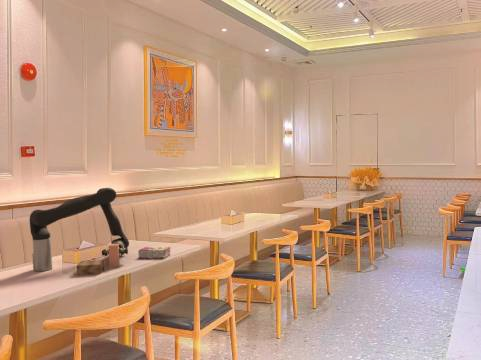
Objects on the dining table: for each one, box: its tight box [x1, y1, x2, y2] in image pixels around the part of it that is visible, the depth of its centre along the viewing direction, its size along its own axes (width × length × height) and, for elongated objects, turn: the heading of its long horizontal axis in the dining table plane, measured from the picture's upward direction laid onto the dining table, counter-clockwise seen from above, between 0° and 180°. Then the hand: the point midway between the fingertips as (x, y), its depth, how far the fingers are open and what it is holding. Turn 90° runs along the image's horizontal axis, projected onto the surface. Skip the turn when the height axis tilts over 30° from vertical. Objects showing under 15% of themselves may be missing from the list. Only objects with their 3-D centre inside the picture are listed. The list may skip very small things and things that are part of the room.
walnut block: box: [76, 259, 105, 276], centre depth 267 cm, size 12×12×5 cm
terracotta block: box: [107, 243, 121, 268], centre depth 279 cm, size 5×5×12 cm
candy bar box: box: [138, 246, 171, 259], centre depth 301 cm, size 11×5×16 cm
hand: (113, 254), depth 278 cm, fingers open, 8 cm apart
